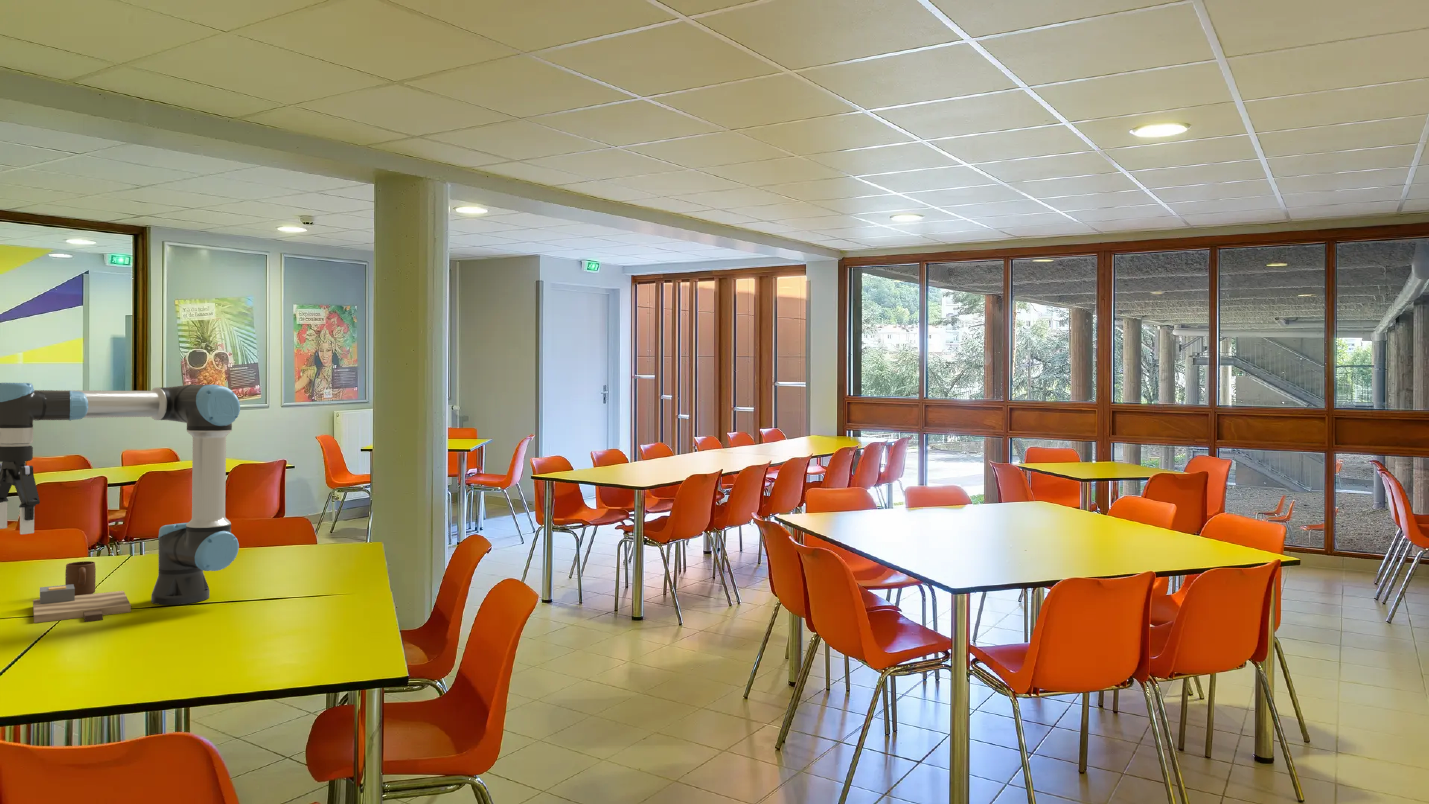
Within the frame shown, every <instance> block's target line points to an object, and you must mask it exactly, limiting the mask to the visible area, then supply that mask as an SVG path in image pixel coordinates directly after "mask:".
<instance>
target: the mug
mask: <svg viewBox="0 0 1429 804" xmlns="http://www.w3.org/2000/svg"><path fill="white" fill-rule="evenodd" d="M96 571H97V570H96V562H95V561H92V560H91V561H90V560H89V561H87V560H85V561H75V562H68V563H67V564H66V565H65V576H64V577H65V584H64V585H71V584H74V588H75V596H76V595H86V594H95V592H96V578H97V577H96V574H97V573H96Z"/></svg>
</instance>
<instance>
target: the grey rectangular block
mask: <svg viewBox="0 0 1429 804" xmlns="http://www.w3.org/2000/svg"><path fill="white" fill-rule="evenodd" d="M39 599H40V604H47V603H57V602H67V601H75V588H74V584H71V585H65V584H63V585H61V584H60V585H51V586H42V587H41V586H40V587H39Z"/></svg>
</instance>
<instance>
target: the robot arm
mask: <svg viewBox="0 0 1429 804" xmlns="http://www.w3.org/2000/svg"><path fill="white" fill-rule="evenodd" d="M240 411H241V404H240V400H239V398H238V396H237V394H236V393H234V391H233V390H232V389H230V388H229V387H226V386H223V385H218V384H213V383H212V384H185V385H179V386H178V385H177V386H168V387H167V386H166V387H159V386H158V387H154V388H152V389H151V390H79V389H78V390H73V389H72V390H68V389H67V390H66V389H65V390H63V389H61V390H60V389H59V390H52V389H49V390H48V389H47V390H44V389H43V390H41V389H38V390H37V389H35V388H34V385H33V383H32V382H31V383H30V382H0V530H2V529H8V502H9V500H8V498H7V497H8V495H9V493H10V491H11V487H12V486H14V488H15V491H16V492H17V496H18V498H19V502H20V504H19V506H18V507H19V534H20V535H28V534H34V533H35V507H36V506H37V505H40V502H41V500H40V497H39V496H40V495H39V492H38V489H37V488H38V487H37V483H36V480H35V475H34V466H33V465H27V464H26V462H29V461H32V460H33V459H34V458H33V456H34V452H33V451H34V450H33V449H34V447H33V446H32V445H31V444H33V443H34V421H75V420H82V419H86V418H87V419H88V418H89V419H91V418H92V419H93V418H94V419H96V418H99V419H100V418H103V419H104V418H151V419H153V420H154V421H169V422H176V423H177V422H179V423H184V424H186V432H187V433H188V434H189V435H190V436H191V437H192V460H191V461H192V468H191V469H192V470H191V473H192V474H191V475H192V479H191V481H192V482H191V485H192V486H191V494H192V495H191V496H192V498H191V504H192V506H191V519H190V521H188V522H181V523H174V524H173V523H172V524H165V525H162V526H161V527H159V529H158V538H157V540H158V574H157V575H158V576H157V578H156V581H155V584H154V586H153V590H152V592H151V595H150V596H151V599H150V601H151V603H152V604H154V605H163V606H168V605H169V606H174V605H175V606H176V605H187V604H192V603H198V602H202V601H205V600H208V599H209V598H210V588H209V584H208V583H207V578H206V576H205V573H204V571H205V572H209V571H210V572H216V571H221V570H223V569H226V568H227V567H229V566H230V565H231V564H232V563H233V562H234V561H235V560H236V558H237V556H238V553H239V549H240V544H239V541H238V538H237V537H236V536H235V535H234V534H233V533H232V523H231V521H230V520H229V519H228V518H227V517H226V485H227V484H226V481H227V480H226V479H227V477H226V476H227V474H226V470H227V465H226V464H227V462H226V461H227V459H226V458H227V436H228V435H229V434H230V433H231V432H232V431H233V423H234V422H235V421H236V419H237V418H238V417H239V415H240Z"/></svg>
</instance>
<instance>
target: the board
mask: <svg viewBox="0 0 1429 804" xmlns="http://www.w3.org/2000/svg"><path fill="white" fill-rule="evenodd" d="M131 606H132V604H131V603H130V601H129V599H128V596H127V595H126V593H125V591H124V590H117V591H109V592H108V591H107V592H98V593H93V594H86V595H76V596H75V601H67V602H57V603H47V604H40V598H39V599H33V600H32V607H33V608H32V610H33V611H32V613H33V623H34V624H36V623H47V622H53V621H55V622H56V621H62V620H63V621H64V620H70V619H71V620H72V619H81V618H82V619H83V620H84V622H85V623H87V622H95V621H103V616H106V615H107V616H108V615H115V614H125V613H131V612H132V607H131Z"/></svg>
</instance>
